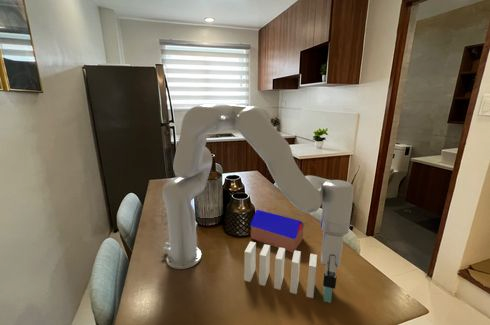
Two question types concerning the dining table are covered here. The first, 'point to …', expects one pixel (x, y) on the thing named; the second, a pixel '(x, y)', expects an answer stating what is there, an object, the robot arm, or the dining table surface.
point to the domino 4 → (295, 272)
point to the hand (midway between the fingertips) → (329, 275)
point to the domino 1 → (249, 261)
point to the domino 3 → (279, 268)
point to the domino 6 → (327, 291)
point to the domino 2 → (264, 264)
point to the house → (276, 230)
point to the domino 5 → (311, 275)
